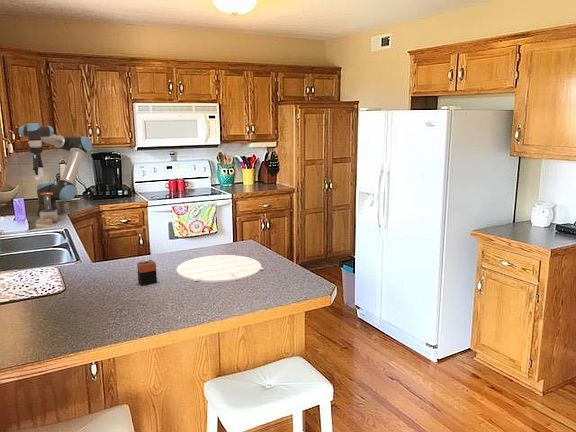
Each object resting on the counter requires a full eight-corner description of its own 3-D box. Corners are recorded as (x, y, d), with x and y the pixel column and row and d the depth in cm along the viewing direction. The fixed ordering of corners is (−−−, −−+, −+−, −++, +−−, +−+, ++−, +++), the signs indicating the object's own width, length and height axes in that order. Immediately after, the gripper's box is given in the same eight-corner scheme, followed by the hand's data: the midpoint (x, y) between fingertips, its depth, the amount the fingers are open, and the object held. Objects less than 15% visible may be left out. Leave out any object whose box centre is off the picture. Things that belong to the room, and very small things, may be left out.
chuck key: (43, 215, 325) (41, 192, 322) (55, 215, 327) (53, 192, 323) (42, 216, 321) (39, 193, 318) (54, 216, 323) (52, 192, 320)
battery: (138, 283, 202) (136, 260, 200) (153, 280, 206) (152, 257, 204) (141, 286, 199) (140, 263, 197) (157, 282, 202) (156, 260, 200)
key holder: (39, 225, 314) (38, 219, 313) (52, 224, 316) (51, 218, 315) (36, 227, 306) (35, 221, 306) (49, 227, 308) (49, 221, 307)
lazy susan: (276, 274, 215) (276, 267, 214) (193, 289, 196) (193, 281, 195) (240, 253, 249) (240, 247, 248) (166, 264, 230) (166, 257, 229)
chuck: (42, 220, 329) (41, 209, 327) (60, 219, 332) (59, 209, 330) (37, 224, 317) (36, 213, 316) (57, 223, 320) (56, 212, 319)
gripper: (33, 145, 327) (36, 176, 332) (25, 148, 304) (29, 181, 309) (45, 145, 329) (48, 175, 334) (38, 148, 306) (42, 180, 311)
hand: (39, 178), depth 321 cm, fingers open, 13 cm apart
